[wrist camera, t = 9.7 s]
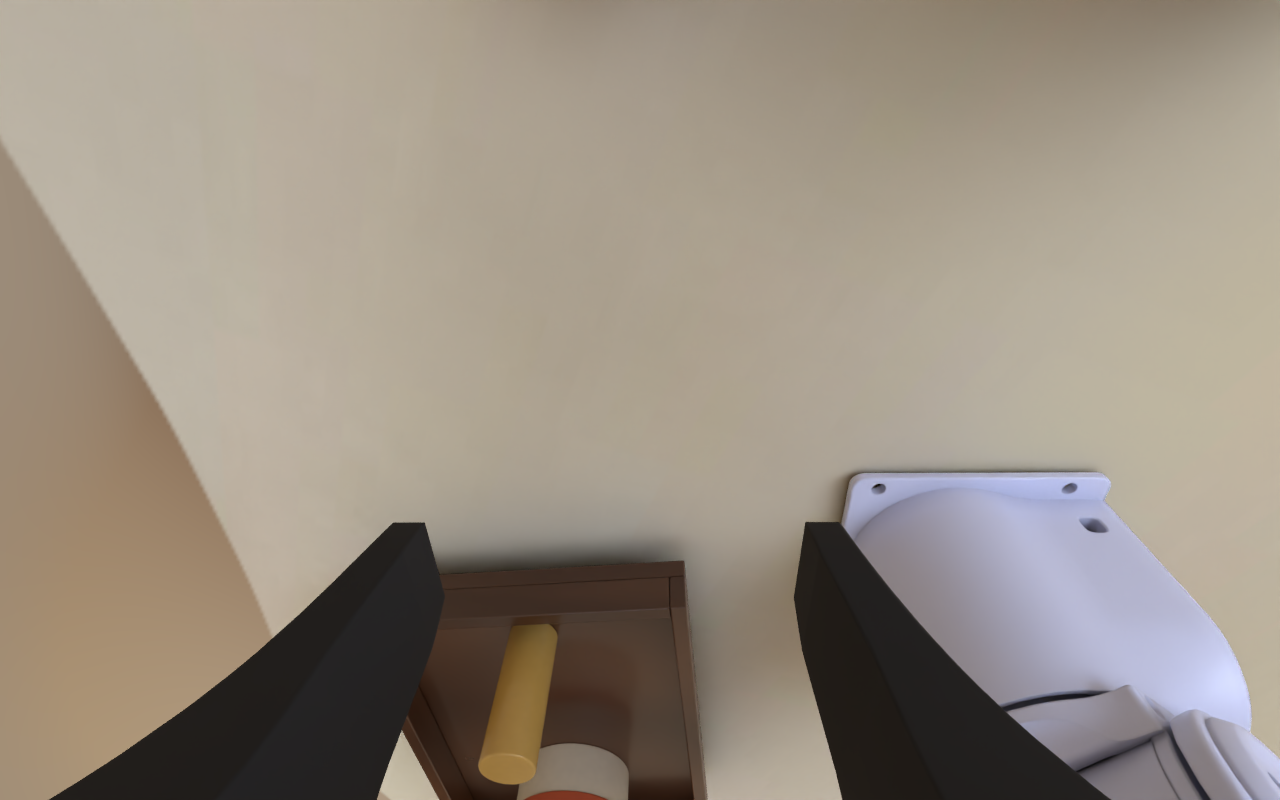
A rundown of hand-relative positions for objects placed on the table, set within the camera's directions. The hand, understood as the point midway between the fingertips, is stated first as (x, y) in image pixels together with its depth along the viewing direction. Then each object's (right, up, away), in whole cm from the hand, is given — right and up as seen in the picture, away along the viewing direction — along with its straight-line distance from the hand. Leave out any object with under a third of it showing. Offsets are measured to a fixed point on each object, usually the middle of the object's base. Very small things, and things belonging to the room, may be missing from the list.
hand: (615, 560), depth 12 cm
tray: (-3, -11, +18) cm, 21 cm away
